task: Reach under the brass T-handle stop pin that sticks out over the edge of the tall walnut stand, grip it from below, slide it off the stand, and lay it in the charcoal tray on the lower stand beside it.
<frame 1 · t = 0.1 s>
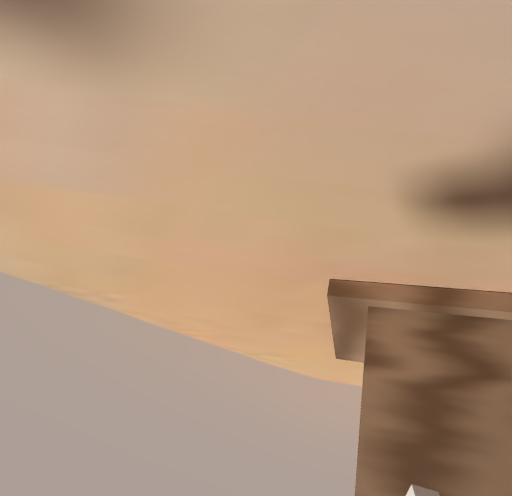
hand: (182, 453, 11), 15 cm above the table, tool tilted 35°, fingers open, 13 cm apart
pin stand: (417, 325, 32), on the table
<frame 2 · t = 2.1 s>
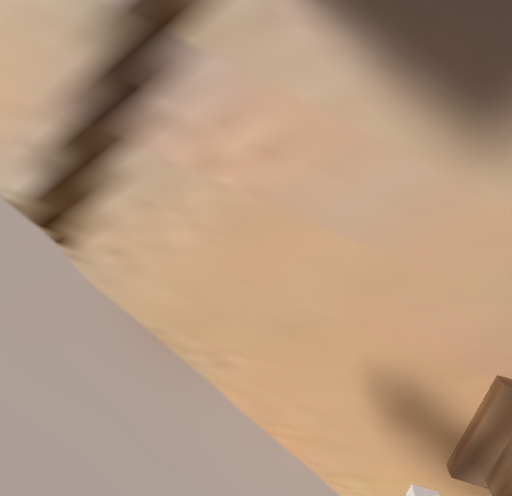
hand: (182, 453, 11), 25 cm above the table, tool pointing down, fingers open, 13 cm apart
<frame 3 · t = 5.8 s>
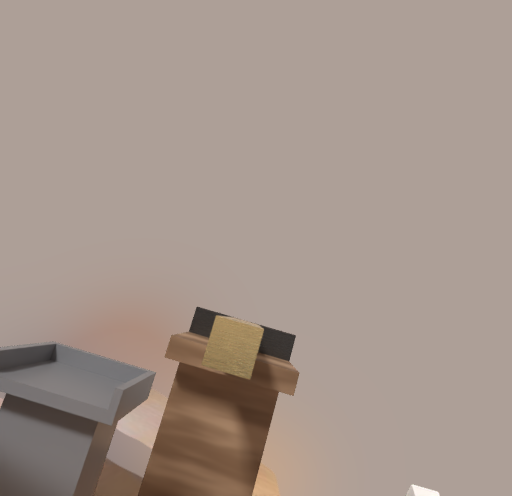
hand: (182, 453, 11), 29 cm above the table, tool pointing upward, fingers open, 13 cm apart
stop pin: (237, 348, 41), point 30 cm above the table, touching pin stand
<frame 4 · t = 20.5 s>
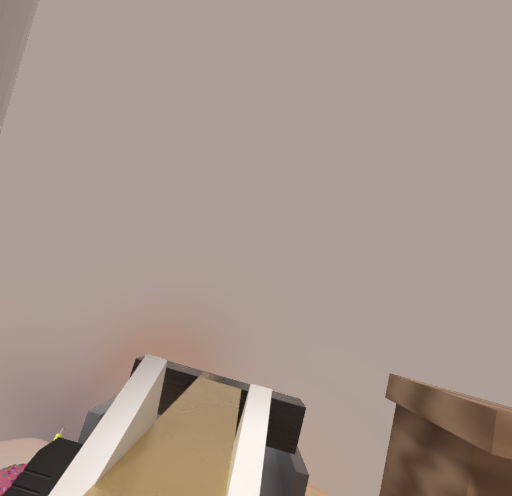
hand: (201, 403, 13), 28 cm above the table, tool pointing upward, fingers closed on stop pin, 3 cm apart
stop pin: (202, 440, 22), point 24 cm above the table, touching gripper
when the fingers open (25 cm above the table, at t = 23.6 s): stop pin drops 2 cm, resting on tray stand.
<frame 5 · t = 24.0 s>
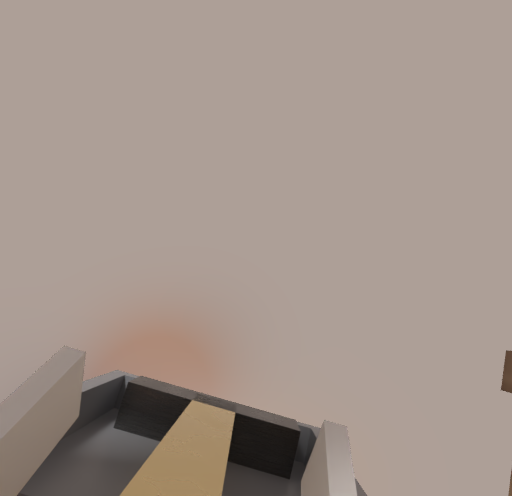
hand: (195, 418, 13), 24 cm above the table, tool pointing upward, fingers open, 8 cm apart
stop pin: (195, 467, 22), point 19 cm above the table, touching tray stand
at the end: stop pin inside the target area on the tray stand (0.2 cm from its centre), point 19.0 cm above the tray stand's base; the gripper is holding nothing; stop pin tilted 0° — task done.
